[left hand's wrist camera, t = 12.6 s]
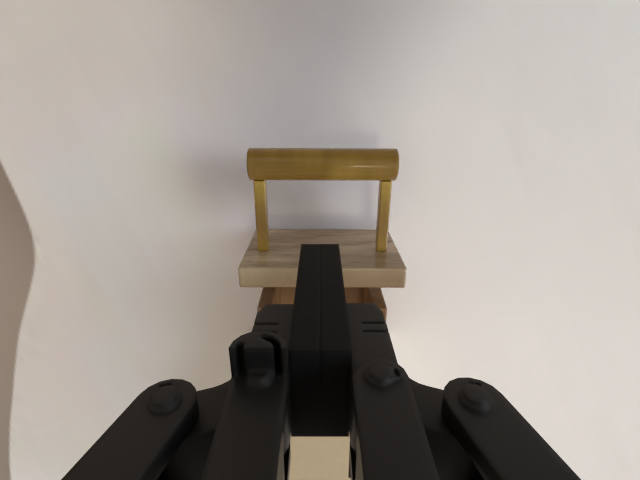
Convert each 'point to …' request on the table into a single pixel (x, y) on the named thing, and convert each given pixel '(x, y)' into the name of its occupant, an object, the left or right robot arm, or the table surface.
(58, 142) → the table surface
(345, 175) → the drawer
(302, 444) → the wooden box
